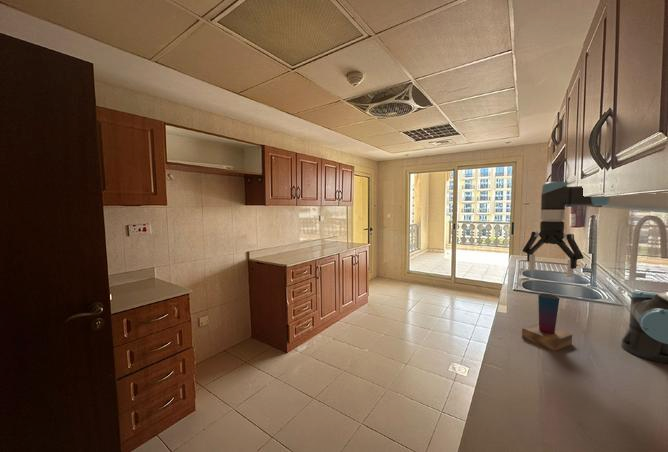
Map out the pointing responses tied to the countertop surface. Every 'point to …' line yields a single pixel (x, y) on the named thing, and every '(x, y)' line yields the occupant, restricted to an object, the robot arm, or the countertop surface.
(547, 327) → the cup
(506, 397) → the countertop surface
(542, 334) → the base block
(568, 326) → the countertop surface
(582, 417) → the countertop surface
